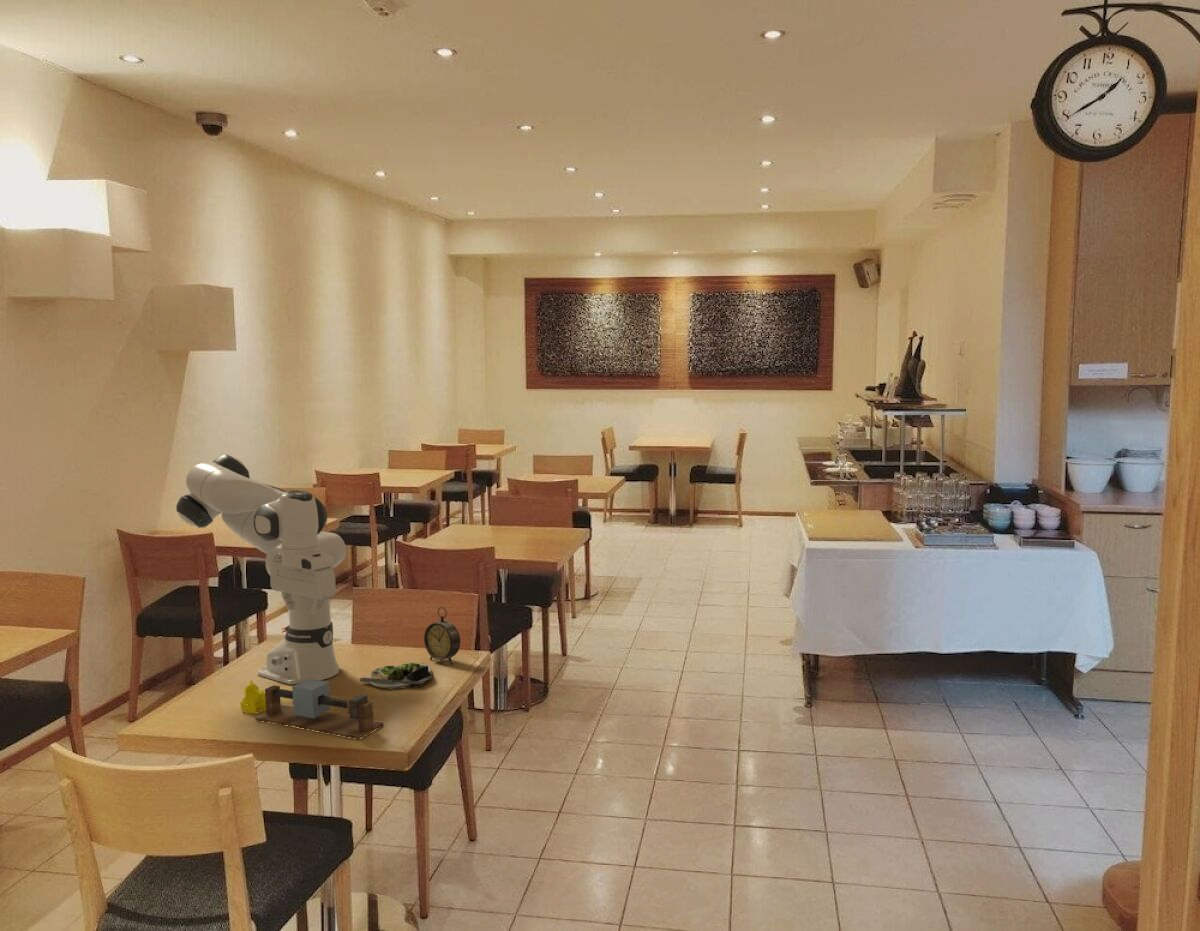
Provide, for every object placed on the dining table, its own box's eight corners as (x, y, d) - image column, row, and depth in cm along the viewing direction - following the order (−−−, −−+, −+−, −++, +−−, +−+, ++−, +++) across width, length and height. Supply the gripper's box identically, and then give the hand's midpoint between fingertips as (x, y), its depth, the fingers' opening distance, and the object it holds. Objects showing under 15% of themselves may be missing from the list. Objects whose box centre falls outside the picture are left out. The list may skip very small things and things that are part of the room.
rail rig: (255, 720, 229) (254, 688, 228) (281, 707, 237) (280, 676, 236) (359, 740, 216) (358, 706, 215) (383, 725, 225) (381, 693, 224)
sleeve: (293, 714, 226) (292, 686, 225) (310, 706, 231) (309, 678, 230) (313, 718, 223) (312, 690, 222) (330, 709, 229) (328, 681, 228)
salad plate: (359, 696, 245) (358, 679, 245) (359, 673, 262) (359, 658, 262) (434, 689, 250) (433, 672, 249) (429, 667, 267) (429, 651, 267)
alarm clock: (423, 660, 272) (422, 606, 270) (436, 655, 276) (435, 602, 274) (451, 667, 266) (449, 612, 264) (464, 662, 270) (462, 607, 268)
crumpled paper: (263, 715, 232) (261, 685, 231) (235, 712, 234) (233, 682, 233) (277, 706, 238) (275, 677, 237) (249, 703, 240) (248, 674, 239)
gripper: (262, 554, 232) (265, 609, 234) (318, 564, 221) (320, 621, 222) (283, 550, 237) (286, 603, 239) (339, 559, 226) (341, 615, 228)
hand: (303, 612), depth 231 cm, fingers open, 8 cm apart
